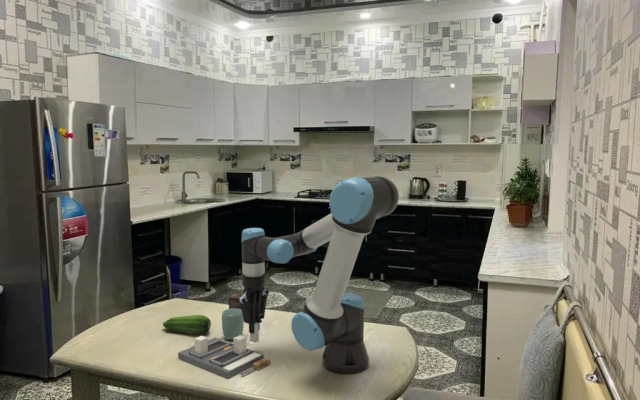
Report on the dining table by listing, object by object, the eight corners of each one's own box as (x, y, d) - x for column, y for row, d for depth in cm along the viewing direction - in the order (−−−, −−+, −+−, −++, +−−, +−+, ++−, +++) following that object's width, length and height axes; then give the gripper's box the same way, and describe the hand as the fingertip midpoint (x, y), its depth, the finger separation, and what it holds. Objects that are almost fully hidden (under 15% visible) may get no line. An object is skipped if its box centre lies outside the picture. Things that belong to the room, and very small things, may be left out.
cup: (239, 343, 174) (238, 316, 173) (219, 341, 176) (218, 314, 175) (246, 334, 182) (246, 309, 181) (227, 333, 184) (226, 307, 183)
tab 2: (246, 351, 161) (246, 337, 161) (240, 354, 159) (239, 340, 158) (240, 349, 163) (240, 335, 163) (233, 352, 161) (233, 338, 160)
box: (235, 309, 211) (235, 292, 210) (248, 310, 209) (247, 294, 208) (228, 313, 205) (228, 296, 204) (241, 315, 203) (241, 298, 202)
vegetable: (206, 314, 180) (160, 310, 185) (202, 334, 177) (155, 329, 183) (215, 317, 186) (170, 313, 192) (212, 336, 184) (166, 331, 189)
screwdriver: (265, 362, 159) (265, 357, 159) (270, 364, 158) (270, 358, 158) (239, 376, 149) (238, 370, 149) (243, 378, 148) (243, 372, 148)
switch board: (264, 360, 160) (264, 352, 160) (228, 378, 148) (227, 370, 147) (215, 342, 175) (214, 335, 174) (178, 358, 162) (178, 350, 162)
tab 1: (207, 352, 161) (207, 337, 160) (200, 355, 159) (200, 340, 158) (201, 350, 163) (201, 335, 162) (194, 353, 160) (194, 338, 160)
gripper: (258, 268, 171) (259, 332, 174) (231, 276, 161) (232, 344, 164) (274, 271, 167) (275, 337, 169) (247, 280, 156) (248, 350, 159)
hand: (254, 341), depth 166 cm, fingers closed
